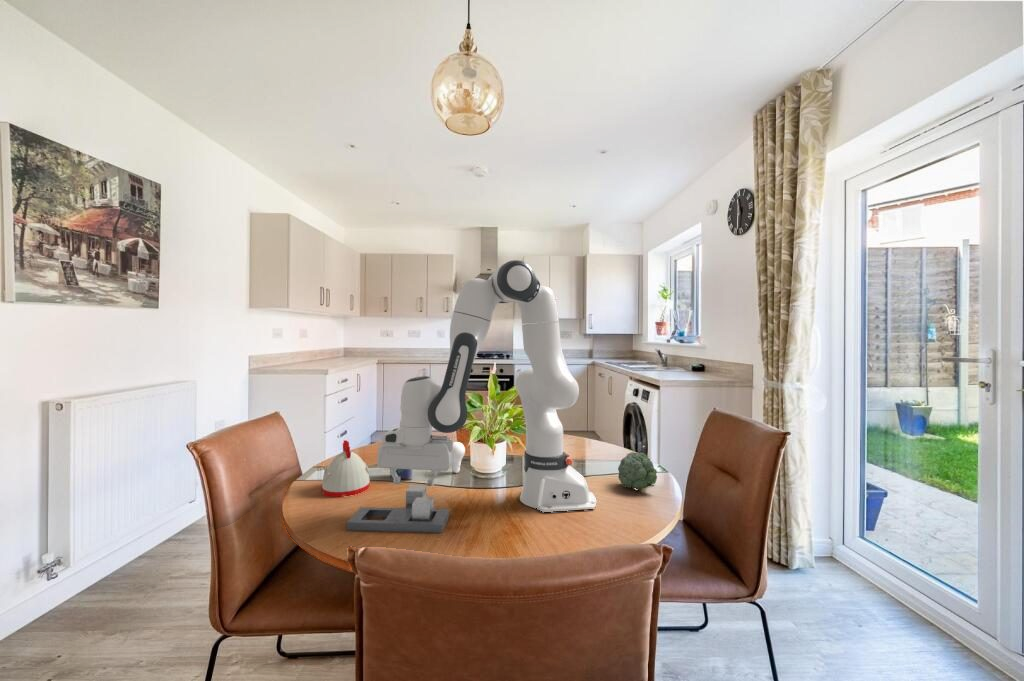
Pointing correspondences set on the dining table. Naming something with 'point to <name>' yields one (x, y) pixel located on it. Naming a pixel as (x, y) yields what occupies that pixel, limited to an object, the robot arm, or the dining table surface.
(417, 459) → the robot arm
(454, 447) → the lightbulb
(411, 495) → the grey rectangular block
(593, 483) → the dining table surface
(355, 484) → the chicken hat
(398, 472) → the flask
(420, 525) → the grey slotted board
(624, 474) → the vegetable
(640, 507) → the dining table surface
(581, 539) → the dining table surface
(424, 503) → the light gray block
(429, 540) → the dining table surface
